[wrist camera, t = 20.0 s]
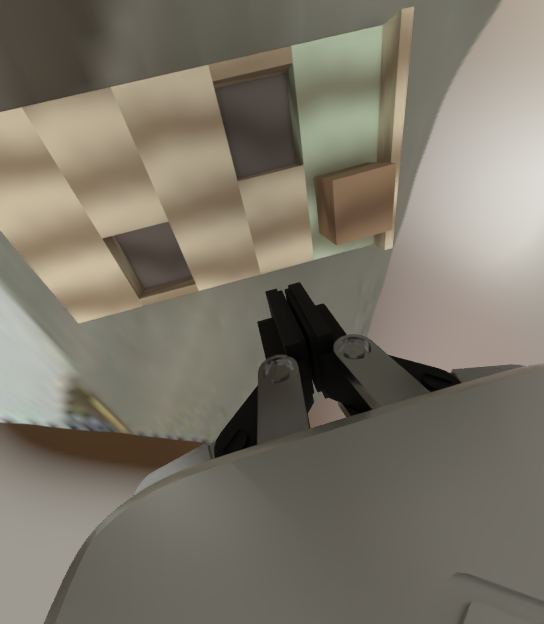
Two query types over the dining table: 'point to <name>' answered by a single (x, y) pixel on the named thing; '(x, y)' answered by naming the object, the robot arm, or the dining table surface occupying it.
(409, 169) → the dining table surface
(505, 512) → the robot arm
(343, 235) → the walnut block
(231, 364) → the dining table surface
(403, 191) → the dining table surface
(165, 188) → the trap deck
